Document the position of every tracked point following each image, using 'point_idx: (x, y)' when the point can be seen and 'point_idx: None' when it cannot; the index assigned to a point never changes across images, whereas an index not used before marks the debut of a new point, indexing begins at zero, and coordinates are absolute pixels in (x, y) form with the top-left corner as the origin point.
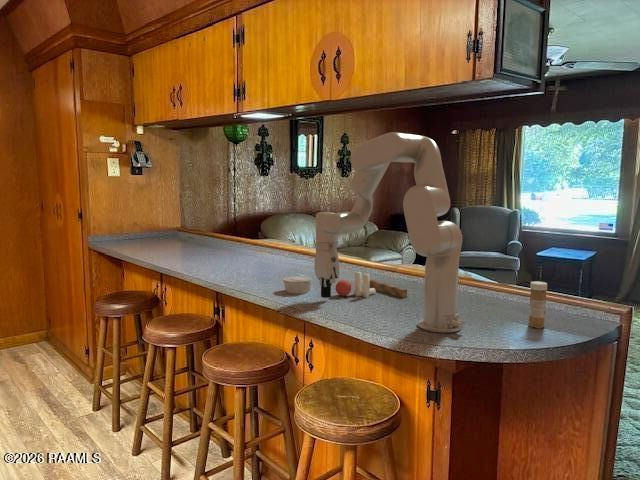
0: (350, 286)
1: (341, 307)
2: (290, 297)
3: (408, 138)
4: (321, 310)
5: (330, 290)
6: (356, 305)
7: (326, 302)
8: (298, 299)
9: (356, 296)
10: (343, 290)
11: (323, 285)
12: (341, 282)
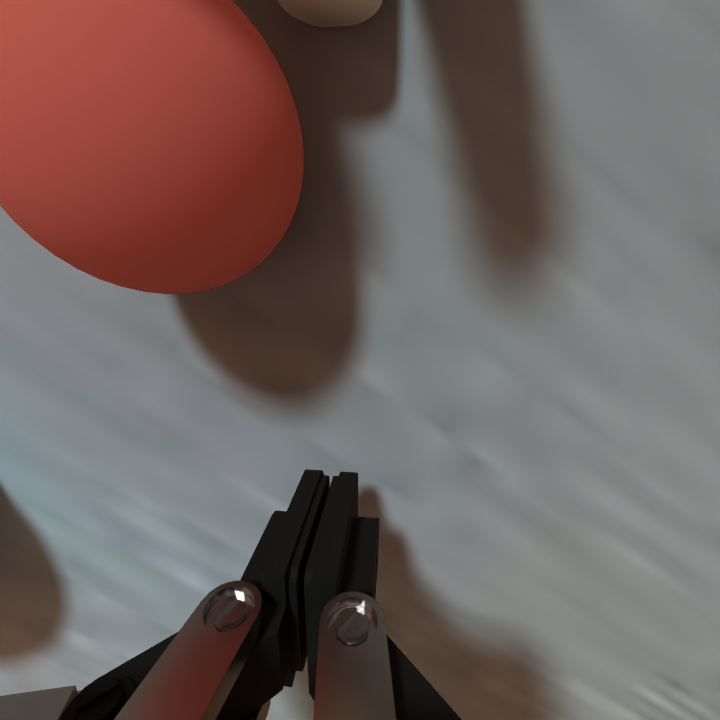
0: (244, 24)
1: (649, 508)
2: (91, 624)
3: None
4: (596, 679)
5: (346, 527)
6: (716, 329)
7: (391, 506)
8: (176, 616)
9: (354, 22)
10: (283, 233)
11: (283, 676)
12: (129, 213)
